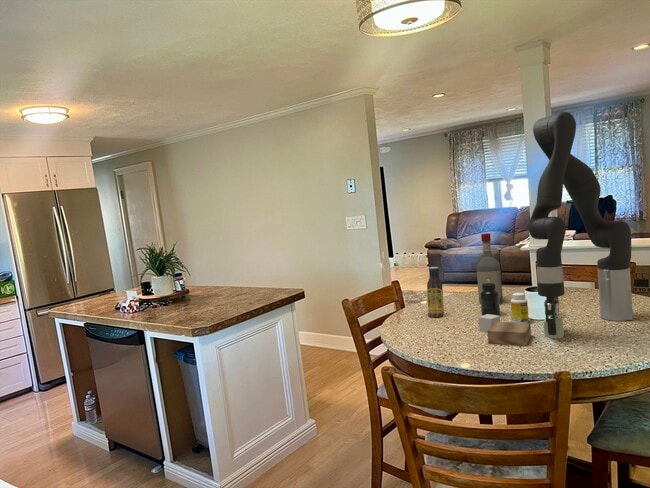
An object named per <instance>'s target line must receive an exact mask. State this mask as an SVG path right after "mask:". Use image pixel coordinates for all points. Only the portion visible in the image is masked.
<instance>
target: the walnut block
mask: <svg viewBox="0 0 650 488" xmlns="http://www.w3.org/2000/svg"><path fill="white" fill-rule="evenodd" d="M531 327H532V326H531V322H527V323H515V322H513V321H512V322H509V321H507V322H506V321H500V322H494V323H493V324H492V326H491V327H490V328H489V329H488V331H487V332H486V333H487V343H488V344H493V345H494V344H495V345H507V344H511V345H510V346H522V345H526V346H527V345H528V343H529V341H530V339H529V338H531V337H530V336H532V328H531Z"/></svg>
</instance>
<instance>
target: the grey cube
mask: <svg viewBox="0 0 650 488" xmlns="http://www.w3.org/2000/svg"><path fill="white" fill-rule="evenodd" d="M477 319H478V328H479V329H478V330H479V332H483V333H487V331H488V329H489V328H490V327H491V326H492V324H493V323H494V322H501V316H500V315H491V314H486V315H480V316H478V318H477Z"/></svg>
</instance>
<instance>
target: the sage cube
mask: <svg viewBox="0 0 650 488" xmlns="http://www.w3.org/2000/svg"><path fill="white" fill-rule="evenodd" d="M549 319H553V318H550V317H549ZM543 333H544V338H553V337H555V338H554V339H556V338H557V339H563V338H564V334H565V333H564V319H563V317H562V318H561V317H558V318H556V335H549V334H548V323H547V322H546V317H545V318H544V320H543Z"/></svg>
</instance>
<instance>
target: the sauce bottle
mask: <svg viewBox="0 0 650 488" xmlns="http://www.w3.org/2000/svg"><path fill="white" fill-rule="evenodd" d="M439 271H440V267H438V266H431V267H428V274H429V275H428V276H429V277H428V280H427V283H426V294H427V295H426V298H427V300H426V301H427V312H428V316H429V317H431V318H441V317H443V316H444V314H445V312H444V311H445V310H444V309H445V308H444V290H443V282H442V281H441V279H440V272H439Z"/></svg>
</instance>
